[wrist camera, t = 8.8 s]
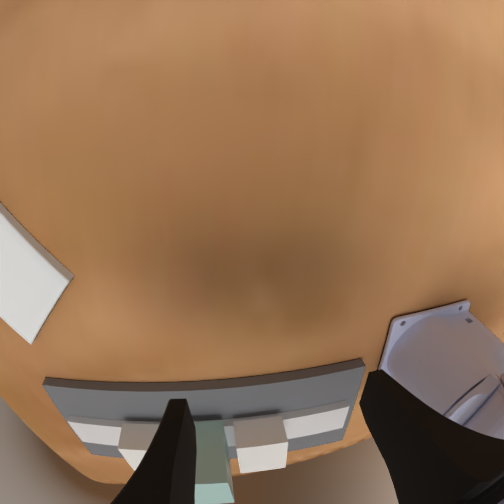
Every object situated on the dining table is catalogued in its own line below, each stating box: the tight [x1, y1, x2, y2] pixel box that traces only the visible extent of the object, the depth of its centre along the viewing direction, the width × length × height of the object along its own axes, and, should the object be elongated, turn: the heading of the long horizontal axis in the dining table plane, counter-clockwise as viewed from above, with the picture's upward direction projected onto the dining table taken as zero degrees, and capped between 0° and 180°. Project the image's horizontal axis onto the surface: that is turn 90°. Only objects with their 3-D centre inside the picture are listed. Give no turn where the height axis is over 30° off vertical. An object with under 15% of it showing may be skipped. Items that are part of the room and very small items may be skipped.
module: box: [194, 420, 234, 504], centre depth 20 cm, size 4×5×6 cm
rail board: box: [42, 359, 366, 473], centre depth 22 cm, size 28×12×5 cm, turn 92°
